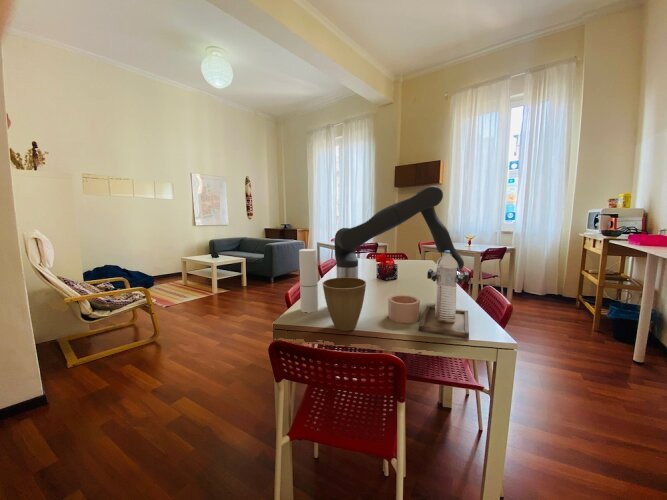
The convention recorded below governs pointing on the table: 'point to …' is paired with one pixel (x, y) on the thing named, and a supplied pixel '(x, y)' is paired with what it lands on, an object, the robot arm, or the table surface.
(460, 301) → the table surface
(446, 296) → the water bottle
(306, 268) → the cylindrical container
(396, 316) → the holder cup
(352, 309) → the plant pot
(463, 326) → the tray
